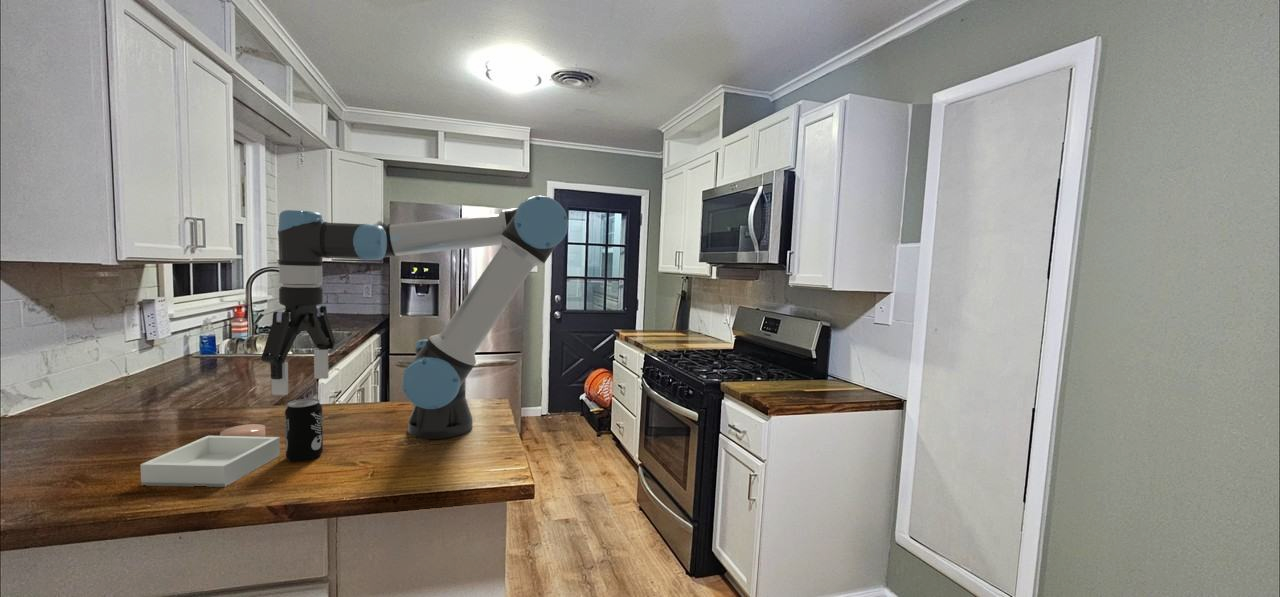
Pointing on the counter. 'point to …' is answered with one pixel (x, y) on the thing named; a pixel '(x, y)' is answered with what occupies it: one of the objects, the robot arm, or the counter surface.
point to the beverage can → (303, 430)
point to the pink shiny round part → (245, 431)
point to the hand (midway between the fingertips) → (302, 386)
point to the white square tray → (210, 461)
